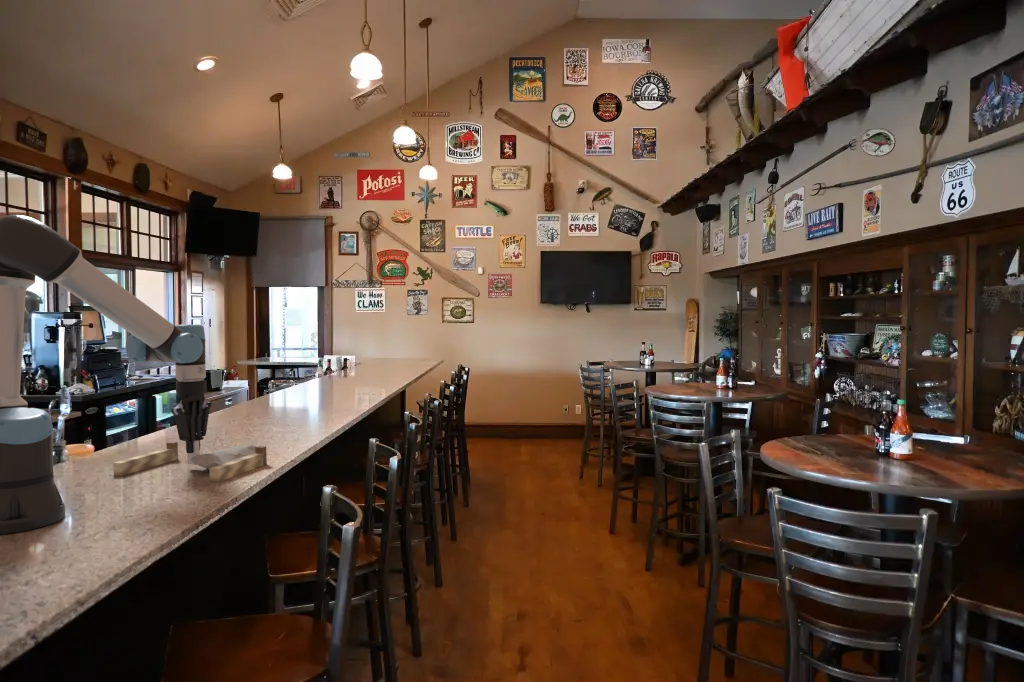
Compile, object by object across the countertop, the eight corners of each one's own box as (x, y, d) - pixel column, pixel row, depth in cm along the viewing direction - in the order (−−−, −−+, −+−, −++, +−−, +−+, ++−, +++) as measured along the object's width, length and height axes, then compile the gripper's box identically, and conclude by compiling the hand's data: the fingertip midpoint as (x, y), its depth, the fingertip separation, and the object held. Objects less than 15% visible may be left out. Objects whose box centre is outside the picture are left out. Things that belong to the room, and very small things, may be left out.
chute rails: (218, 482, 160) (217, 462, 159) (113, 475, 168) (113, 456, 168) (266, 464, 179) (266, 446, 179) (171, 458, 187) (170, 441, 187)
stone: (226, 480, 166) (273, 458, 191) (228, 461, 166) (274, 442, 191) (183, 472, 168) (235, 452, 193) (185, 454, 167) (236, 436, 192)
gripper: (184, 382, 166) (187, 470, 167) (219, 377, 178) (221, 459, 179) (161, 382, 167) (164, 468, 169) (196, 377, 180) (199, 457, 181)
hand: (193, 463), depth 174 cm, fingers closed
